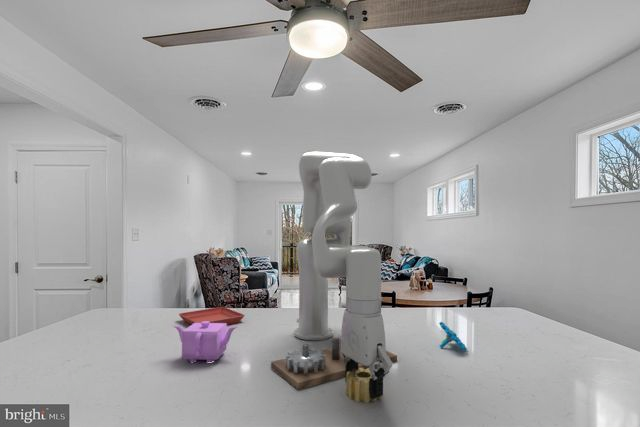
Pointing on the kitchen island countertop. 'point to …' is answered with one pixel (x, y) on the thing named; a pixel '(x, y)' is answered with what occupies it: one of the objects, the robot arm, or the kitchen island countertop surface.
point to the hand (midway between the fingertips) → (363, 388)
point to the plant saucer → (212, 316)
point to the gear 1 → (305, 360)
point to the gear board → (330, 372)
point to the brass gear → (359, 385)
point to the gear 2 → (451, 337)
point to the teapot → (204, 340)
